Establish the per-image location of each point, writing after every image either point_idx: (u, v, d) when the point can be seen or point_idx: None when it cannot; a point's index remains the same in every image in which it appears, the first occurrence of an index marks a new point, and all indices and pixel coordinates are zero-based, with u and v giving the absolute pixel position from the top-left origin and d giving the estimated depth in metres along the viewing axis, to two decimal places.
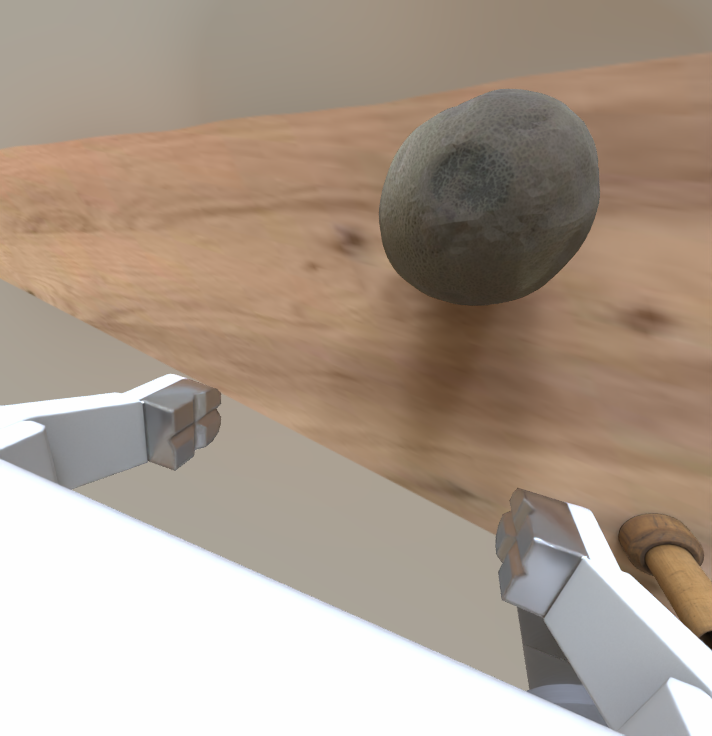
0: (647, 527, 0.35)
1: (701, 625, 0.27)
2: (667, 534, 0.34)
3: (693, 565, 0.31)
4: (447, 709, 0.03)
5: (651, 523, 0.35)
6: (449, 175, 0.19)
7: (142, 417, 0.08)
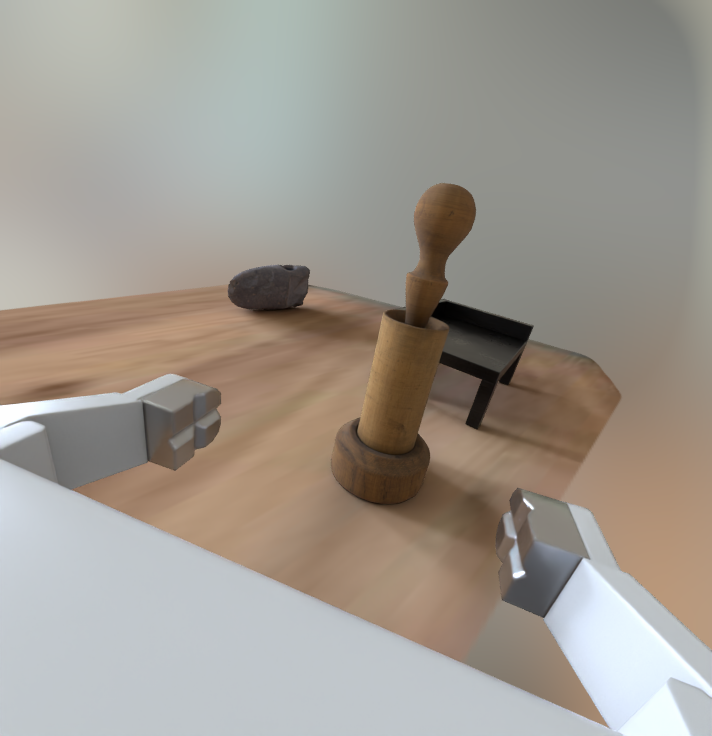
0: (335, 448, 0.22)
1: (389, 327, 0.18)
2: (344, 429, 0.23)
3: None
4: (447, 708, 0.03)
5: (334, 448, 0.23)
6: None
7: (142, 417, 0.08)
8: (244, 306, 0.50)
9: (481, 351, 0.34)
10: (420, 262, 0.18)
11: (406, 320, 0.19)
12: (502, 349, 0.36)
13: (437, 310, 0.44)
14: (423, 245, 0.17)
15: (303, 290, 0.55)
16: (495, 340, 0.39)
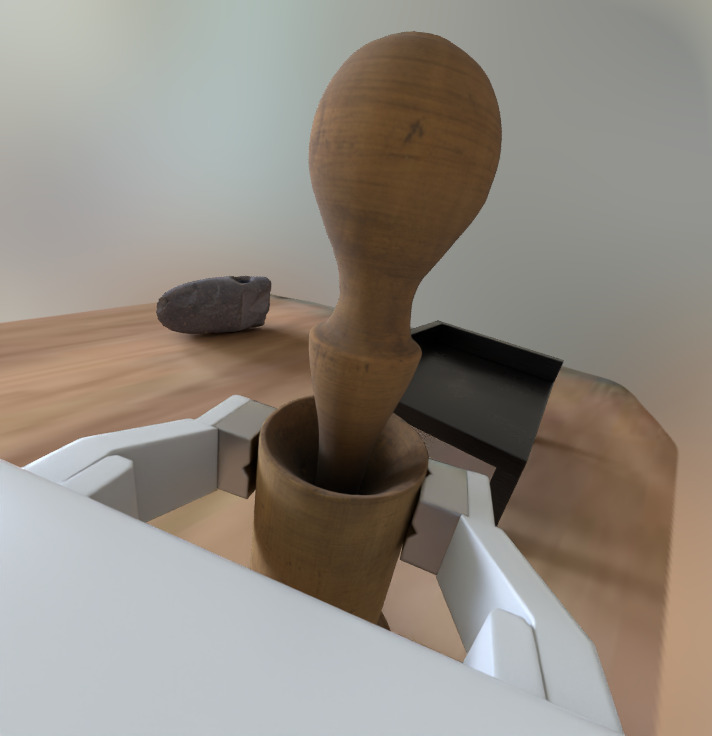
0: None
1: (263, 475, 0.07)
2: None
3: None
4: (447, 708, 0.03)
5: None
6: None
7: (214, 443, 0.08)
8: (180, 330, 0.38)
9: (492, 410, 0.22)
10: (339, 301, 0.06)
11: (319, 441, 0.08)
12: (523, 402, 0.24)
13: (429, 337, 0.32)
14: (339, 252, 0.06)
15: (263, 308, 0.44)
16: (511, 384, 0.27)
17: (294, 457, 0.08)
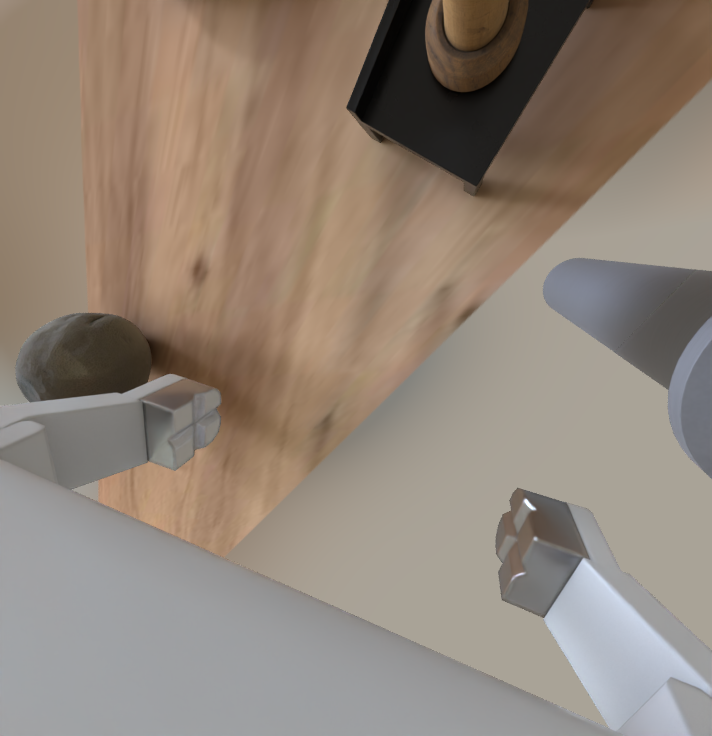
0: (427, 51, 0.24)
1: None
2: (431, 20, 0.23)
3: None
4: (447, 709, 0.03)
5: None
6: (29, 395, 0.40)
7: (142, 417, 0.08)
8: None
9: (479, 112, 0.26)
10: None
11: None
12: (526, 66, 0.24)
13: None
14: None
15: None
16: (536, 8, 0.23)
17: None
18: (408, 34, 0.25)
